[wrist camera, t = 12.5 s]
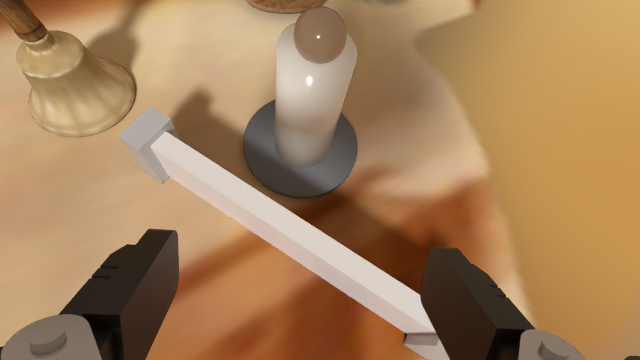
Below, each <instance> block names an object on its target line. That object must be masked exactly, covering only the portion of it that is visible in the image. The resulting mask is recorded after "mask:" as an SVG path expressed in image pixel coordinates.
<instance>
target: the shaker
mask: <svg viewBox="0 0 640 360" xmlns="http://www.w3.org/2000/svg"><path fill="white" fill-rule="evenodd" d="M357 57H358V53H357V48H356V45H355V43H354V41H353V39H352V38H351V37H350V35H349V34H348V33H347V32H346V27H345V24H344V22H343V20H342V18H341V17H340V16H339V14H338V13H336V12H335V11H334V10H332V9H330V8H327V7H322V6H318V7H313V8H310V9H308V10H306V11H305V12H304V13H303V14H302V15H301V16H300V17H299V18H298V20H297V22H296V23H294V24H292V25H290V26H288V27H287V28H286V29H285V30H284V31H283V32H282V33H281V34H280V36H279V38H278V41H277V61H276V101H275V142H274V144H275V149H276V152H277V154H278V155H279V157H280V158H281V159H282V160H283V161H284V162H286V163H287V164H289V165H291V166H294V167H299V168H308V167H312V166H315V165H317V164H319V163H320V162H321V161H322V160H323V159H324V158H325V157H326V155H327V153H328V150H329V147H330V144H331V141H332V138H333V135H334V131H335V128H336V125H337V122H338V119H339V116H340V112H341V109H342V106H343V103H344V100H345V97H346V94H347V90H348V87H349V84H350V81H351V78H352V75H353V71H354V68H355V65H356V62H357Z"/></svg>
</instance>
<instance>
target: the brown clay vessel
mask: <svg viewBox="0 0 640 360" xmlns="http://www.w3.org/2000/svg"><path fill="white" fill-rule="evenodd" d="M246 1H247V2H248V3H249V4H250V5H251V6H252V7H254V8H256V9H259V10H262V11H266V12H272V13H288V14H289V13H299V12H305V11H306V10H308V9H310V8H313V7H316V6H320V5H321V4H323V2H324V1H325V0H246Z"/></svg>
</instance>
